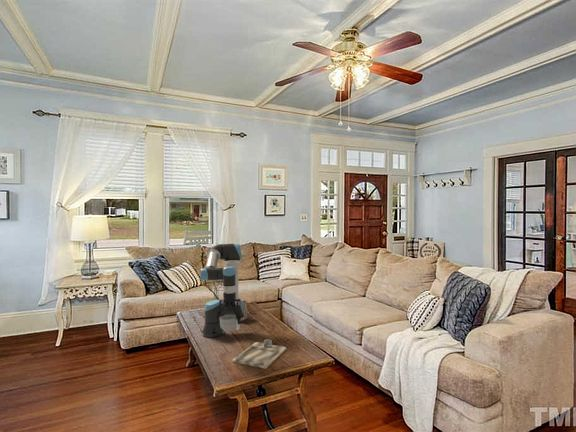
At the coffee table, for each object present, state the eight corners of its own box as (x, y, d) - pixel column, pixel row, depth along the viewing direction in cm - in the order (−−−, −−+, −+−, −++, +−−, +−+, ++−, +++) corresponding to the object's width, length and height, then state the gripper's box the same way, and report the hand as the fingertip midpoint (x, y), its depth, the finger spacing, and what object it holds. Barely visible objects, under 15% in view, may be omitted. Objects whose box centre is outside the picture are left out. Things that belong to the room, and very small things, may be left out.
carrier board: (232, 361, 193) (232, 353, 193) (255, 343, 218) (255, 335, 218) (265, 368, 184) (265, 359, 184) (286, 349, 210) (286, 340, 209)
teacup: (222, 333, 194) (221, 320, 194) (217, 328, 204) (217, 315, 204) (244, 330, 200) (244, 316, 200) (239, 324, 210) (239, 312, 210)
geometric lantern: (211, 313, 285) (211, 272, 285) (229, 311, 291) (229, 271, 291) (214, 318, 271) (214, 275, 271) (233, 316, 277) (233, 274, 277)
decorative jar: (247, 318, 269) (247, 296, 269) (238, 322, 259) (237, 300, 259) (236, 316, 276) (236, 294, 275) (226, 320, 266) (226, 298, 265)
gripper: (210, 291, 204) (210, 327, 204) (242, 295, 194) (242, 332, 194) (217, 289, 210) (218, 323, 211) (249, 292, 201) (249, 328, 201)
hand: (230, 328), depth 202 cm, fingers closed on teacup, 11 cm apart
